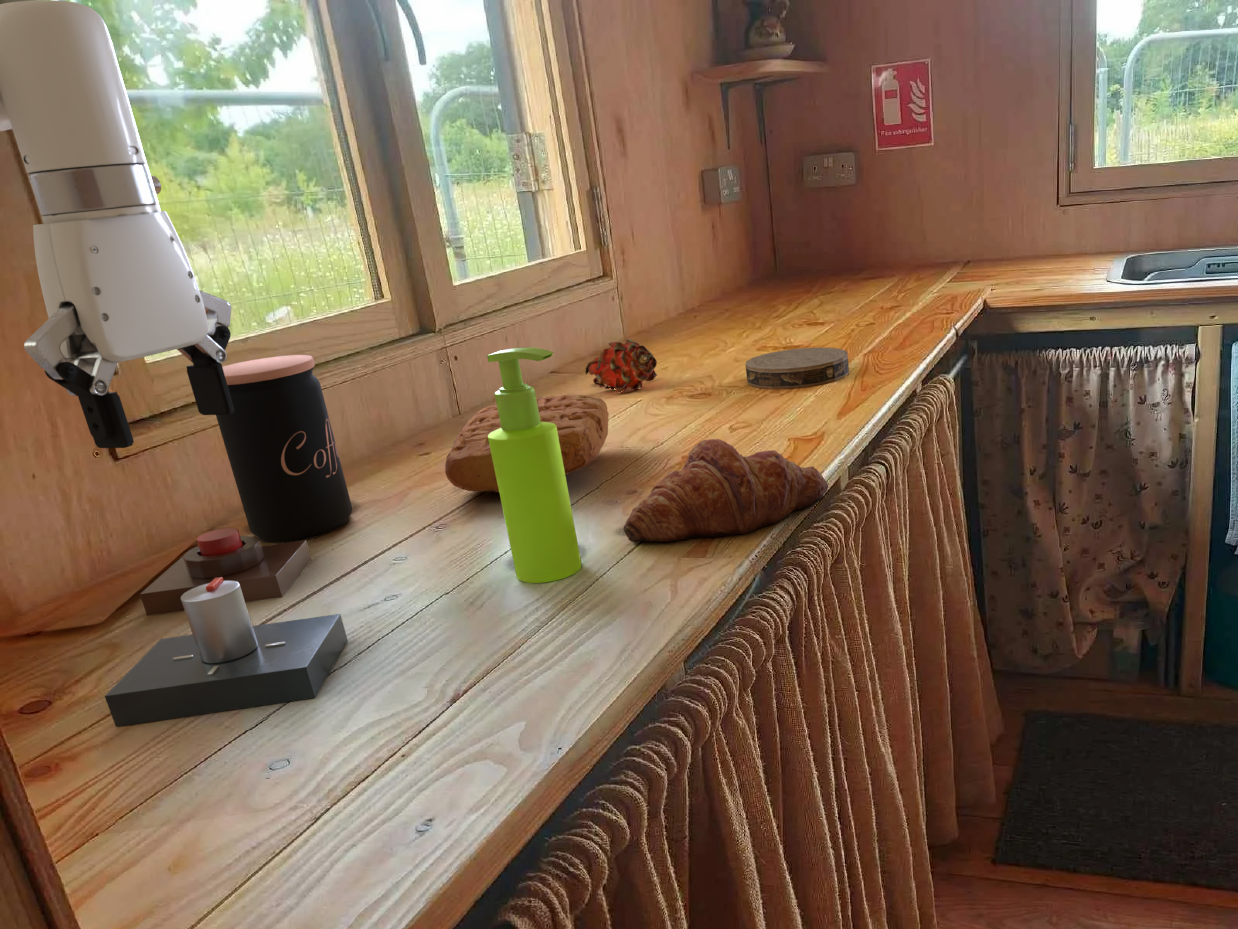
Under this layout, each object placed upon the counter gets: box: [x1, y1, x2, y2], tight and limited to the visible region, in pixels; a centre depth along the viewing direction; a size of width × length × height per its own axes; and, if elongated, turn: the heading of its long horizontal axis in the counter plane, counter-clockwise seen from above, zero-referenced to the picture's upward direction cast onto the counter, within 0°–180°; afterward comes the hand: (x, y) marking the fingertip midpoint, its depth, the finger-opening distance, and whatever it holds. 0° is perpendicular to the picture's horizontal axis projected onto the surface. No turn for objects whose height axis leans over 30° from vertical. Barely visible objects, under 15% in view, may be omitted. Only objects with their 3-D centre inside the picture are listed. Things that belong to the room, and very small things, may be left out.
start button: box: [196, 527, 243, 556], centre depth 102 cm, size 4×4×2 cm
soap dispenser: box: [486, 346, 582, 584], centre depth 95 cm, size 6×7×20 cm
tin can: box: [744, 346, 850, 390], centre depth 168 cm, size 16×16×3 cm
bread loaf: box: [444, 393, 610, 493], centre depth 128 cm, size 22×17×8 cm
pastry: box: [623, 438, 829, 544], centre depth 106 cm, size 17×15×8 cm
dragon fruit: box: [583, 338, 658, 393], centre depth 172 cm, size 8×8×12 cm
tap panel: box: [104, 613, 349, 728], centre depth 83 cm, size 14×10×3 cm
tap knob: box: [181, 577, 258, 663], centre depth 81 cm, size 4×4×5 cm
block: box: [139, 535, 312, 617], centre depth 103 cm, size 12×10×4 cm
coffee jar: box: [215, 354, 353, 544], centre depth 116 cm, size 11×11×18 cm
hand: (169, 429), depth 84 cm, fingers open, 9 cm apart
